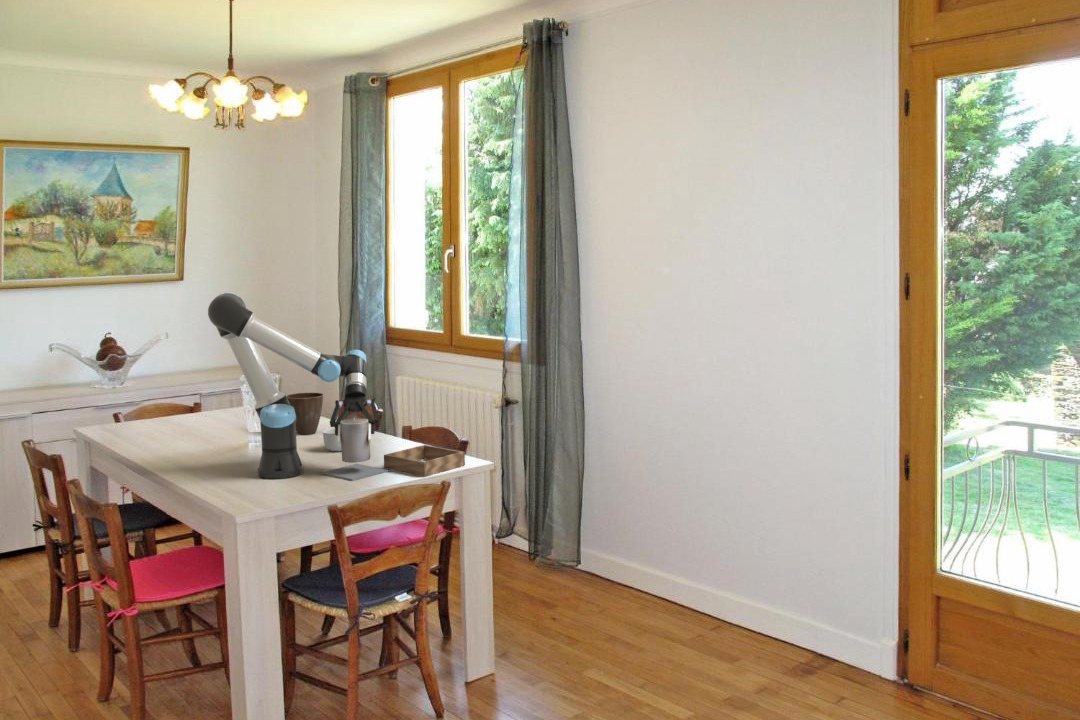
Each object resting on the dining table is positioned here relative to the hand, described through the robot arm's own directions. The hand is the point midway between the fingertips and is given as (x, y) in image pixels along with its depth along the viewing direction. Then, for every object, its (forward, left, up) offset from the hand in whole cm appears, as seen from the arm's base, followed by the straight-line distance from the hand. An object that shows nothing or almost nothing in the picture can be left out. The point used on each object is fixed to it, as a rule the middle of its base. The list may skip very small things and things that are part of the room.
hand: (354, 442), depth 339 cm
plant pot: (+36, +72, -12) cm, 81 cm away
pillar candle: (+2, +2, -7) cm, 8 cm away
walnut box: (+22, -11, -11) cm, 27 cm away
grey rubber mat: (+2, +3, -11) cm, 12 cm away
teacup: (+24, +37, -12) cm, 45 cm away
